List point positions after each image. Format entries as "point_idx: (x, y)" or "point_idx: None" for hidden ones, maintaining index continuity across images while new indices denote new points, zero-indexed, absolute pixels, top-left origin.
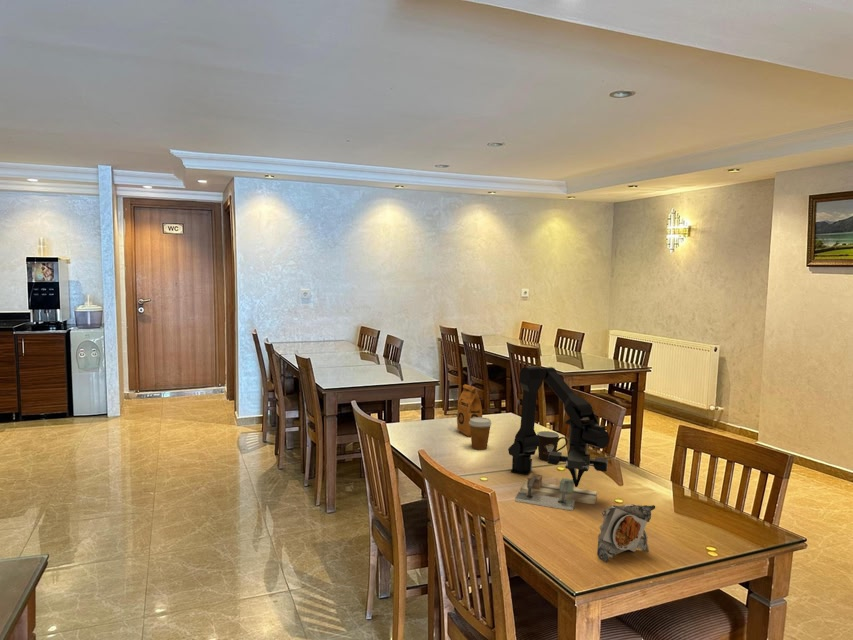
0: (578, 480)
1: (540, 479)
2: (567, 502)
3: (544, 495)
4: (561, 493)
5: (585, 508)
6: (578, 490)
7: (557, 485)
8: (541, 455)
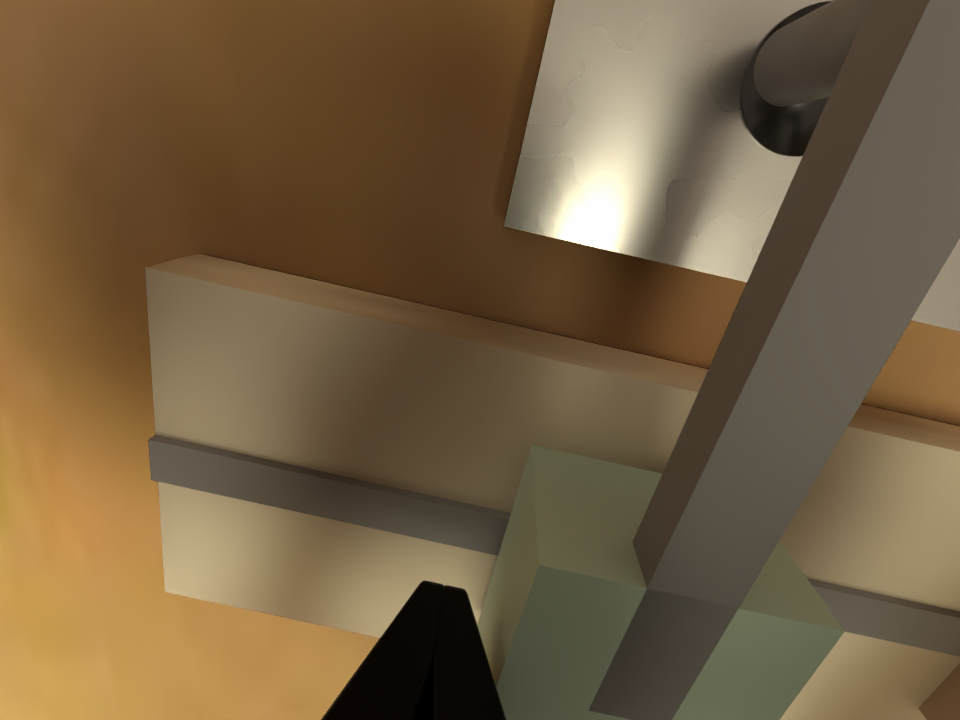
0: (365, 711)
1: None
2: (672, 84)
3: (952, 431)
4: None
5: (337, 36)
6: (412, 586)
7: None
8: None
